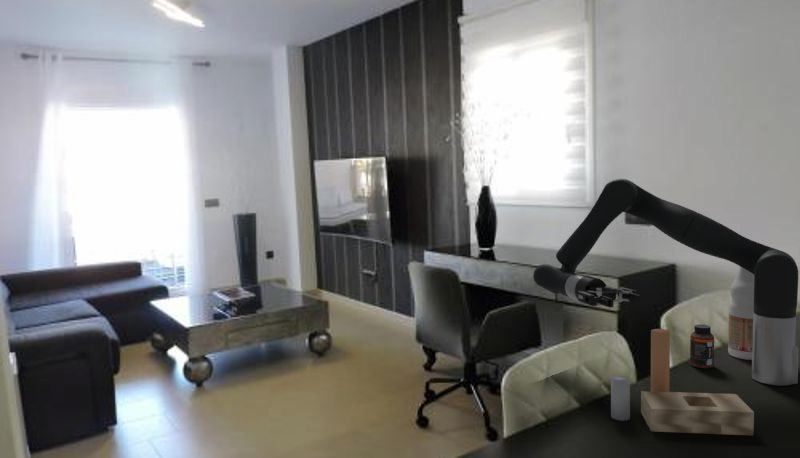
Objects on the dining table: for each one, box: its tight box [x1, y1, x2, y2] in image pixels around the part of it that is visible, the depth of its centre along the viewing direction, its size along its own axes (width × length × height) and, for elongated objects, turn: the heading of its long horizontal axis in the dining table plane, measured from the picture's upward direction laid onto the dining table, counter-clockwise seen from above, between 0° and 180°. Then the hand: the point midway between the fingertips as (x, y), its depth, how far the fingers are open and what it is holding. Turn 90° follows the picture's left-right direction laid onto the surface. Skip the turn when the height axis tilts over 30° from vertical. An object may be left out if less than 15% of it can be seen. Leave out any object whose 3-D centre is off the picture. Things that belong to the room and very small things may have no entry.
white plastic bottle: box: [727, 266, 754, 361], centre depth 172 cm, size 9×9×28 cm
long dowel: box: [650, 328, 671, 392], centre depth 140 cm, size 4×4×18 cm
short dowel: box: [610, 374, 631, 422], centre depth 135 cm, size 4×4×9 cm
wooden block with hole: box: [640, 390, 755, 436], centre depth 131 cm, size 20×10×5 cm, turn 80°
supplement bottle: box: [689, 323, 715, 369], centre depth 166 cm, size 6×6×11 cm
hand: (626, 301), depth 149 cm, fingers open, 8 cm apart
